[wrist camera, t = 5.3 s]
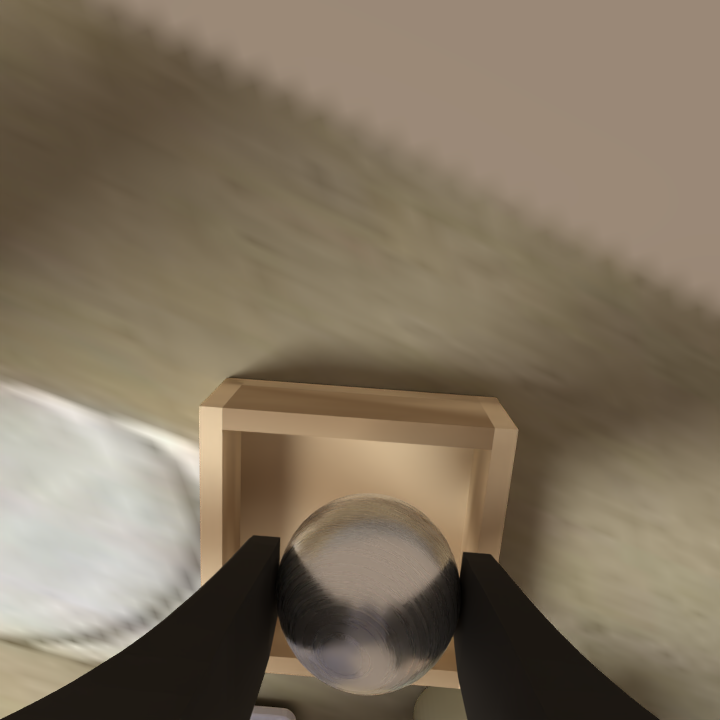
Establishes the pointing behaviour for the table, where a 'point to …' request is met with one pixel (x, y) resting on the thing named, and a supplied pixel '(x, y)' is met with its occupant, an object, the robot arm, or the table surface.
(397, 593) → the ball
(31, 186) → the table surface
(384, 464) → the tray
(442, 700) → the shaker
